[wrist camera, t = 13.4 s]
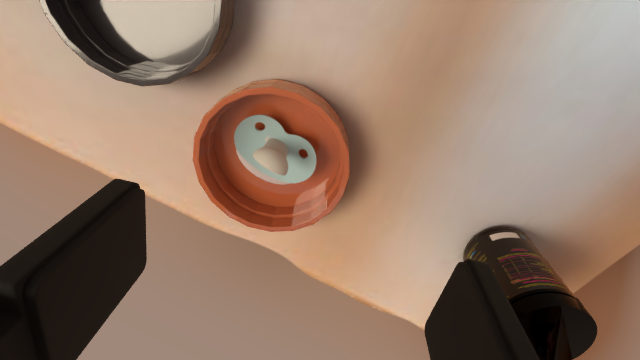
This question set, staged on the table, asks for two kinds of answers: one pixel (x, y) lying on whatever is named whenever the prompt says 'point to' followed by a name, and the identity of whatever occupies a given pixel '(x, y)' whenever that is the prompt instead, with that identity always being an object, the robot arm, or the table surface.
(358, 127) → the table surface
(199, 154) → the terracotta bowl
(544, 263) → the supplement container
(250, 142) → the pacifier
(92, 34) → the charcoal bowl
